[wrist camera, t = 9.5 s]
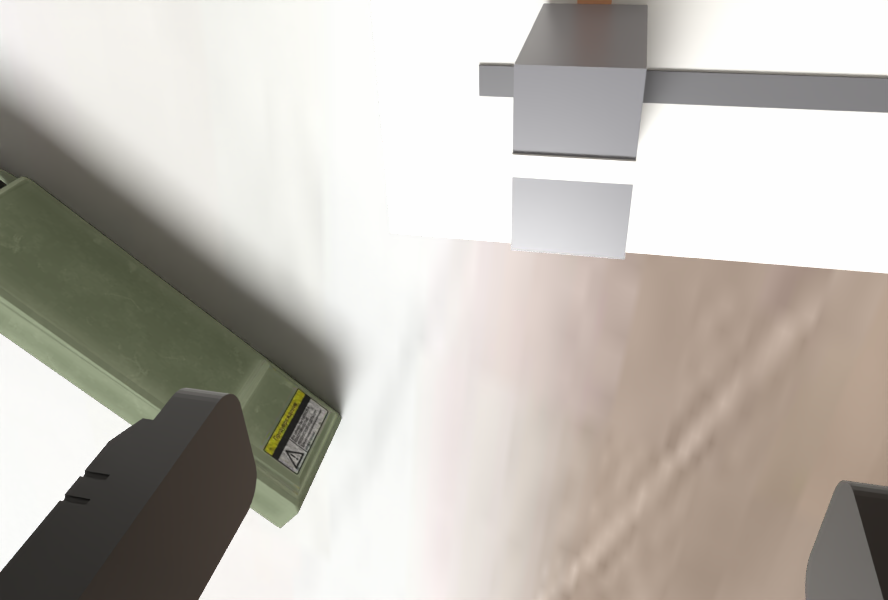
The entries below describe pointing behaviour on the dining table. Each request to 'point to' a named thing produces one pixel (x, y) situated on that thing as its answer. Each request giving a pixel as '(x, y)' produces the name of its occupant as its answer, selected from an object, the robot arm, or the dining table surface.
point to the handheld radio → (146, 341)
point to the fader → (577, 128)
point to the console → (660, 126)
